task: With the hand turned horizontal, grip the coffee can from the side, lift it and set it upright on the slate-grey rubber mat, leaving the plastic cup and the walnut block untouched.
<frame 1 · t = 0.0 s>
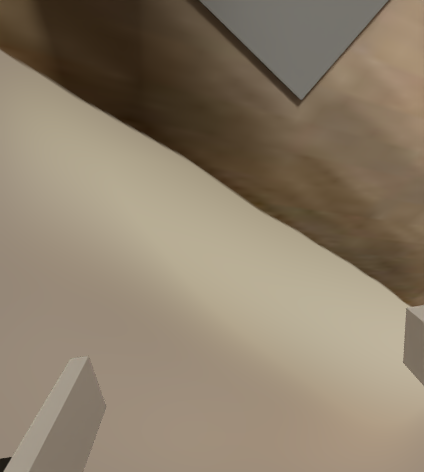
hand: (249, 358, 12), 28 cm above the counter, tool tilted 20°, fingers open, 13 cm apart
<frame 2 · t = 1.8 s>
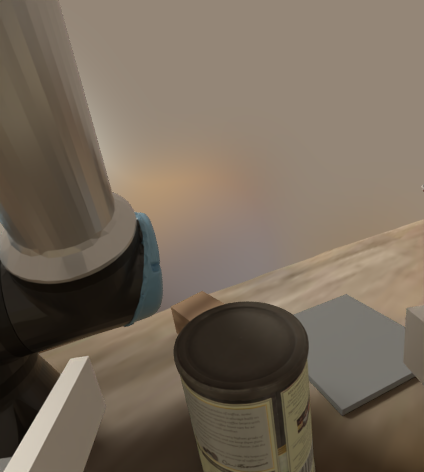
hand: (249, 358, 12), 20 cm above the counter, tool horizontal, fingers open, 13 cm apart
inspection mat: (344, 343, 40), on the counter
coffee can: (257, 463, 28), on the counter
walnut block: (202, 332, 47), on the counter
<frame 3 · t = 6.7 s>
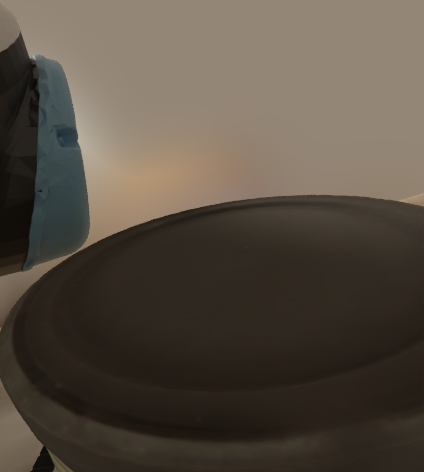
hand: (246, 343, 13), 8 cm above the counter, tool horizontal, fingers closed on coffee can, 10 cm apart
when the fingers open (9 cm above the counter, at t = 13.4 s): coffee can stays where it is, resting on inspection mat.
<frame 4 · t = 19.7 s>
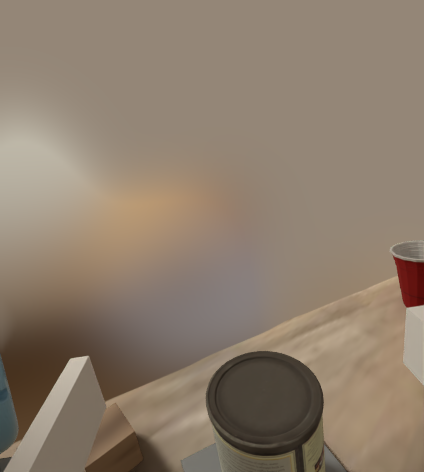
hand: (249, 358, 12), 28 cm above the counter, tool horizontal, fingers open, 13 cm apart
plastic cup: (419, 305, 58), on the counter
walnut block: (112, 460, 38), on the counter
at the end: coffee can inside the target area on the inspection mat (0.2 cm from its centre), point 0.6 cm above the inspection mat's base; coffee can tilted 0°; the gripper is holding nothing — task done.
